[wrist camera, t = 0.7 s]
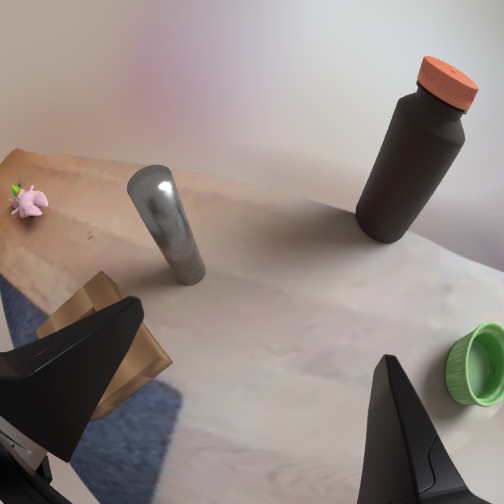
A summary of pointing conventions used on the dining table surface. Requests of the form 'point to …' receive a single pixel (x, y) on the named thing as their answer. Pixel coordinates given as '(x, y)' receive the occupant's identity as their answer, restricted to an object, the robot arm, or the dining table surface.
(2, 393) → the robot arm
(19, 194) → the rabbit figure
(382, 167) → the bottle
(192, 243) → the steel rod
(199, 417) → the dining table surface
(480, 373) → the ramekin
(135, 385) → the walnut square frame
